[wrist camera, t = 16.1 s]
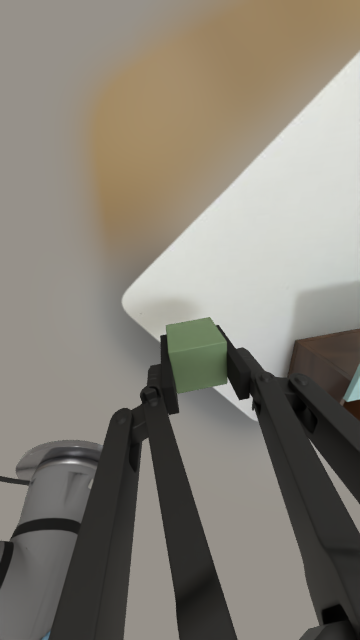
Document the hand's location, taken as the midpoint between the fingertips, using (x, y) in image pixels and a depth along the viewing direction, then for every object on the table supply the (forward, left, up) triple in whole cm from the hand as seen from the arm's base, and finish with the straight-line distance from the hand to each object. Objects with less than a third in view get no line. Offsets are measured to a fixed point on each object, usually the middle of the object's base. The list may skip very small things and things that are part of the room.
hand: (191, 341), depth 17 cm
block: (0, 0, 0) cm, 0 cm away
